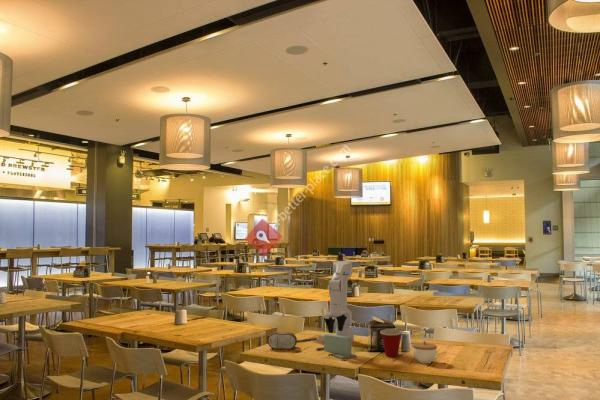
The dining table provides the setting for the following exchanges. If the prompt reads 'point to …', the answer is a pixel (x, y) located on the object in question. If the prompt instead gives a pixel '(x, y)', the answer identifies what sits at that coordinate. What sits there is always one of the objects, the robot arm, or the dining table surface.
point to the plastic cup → (391, 341)
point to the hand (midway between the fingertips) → (335, 331)
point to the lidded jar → (424, 352)
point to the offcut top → (321, 336)
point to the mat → (342, 356)
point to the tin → (282, 340)
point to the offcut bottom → (319, 340)
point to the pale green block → (338, 344)
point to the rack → (313, 341)
